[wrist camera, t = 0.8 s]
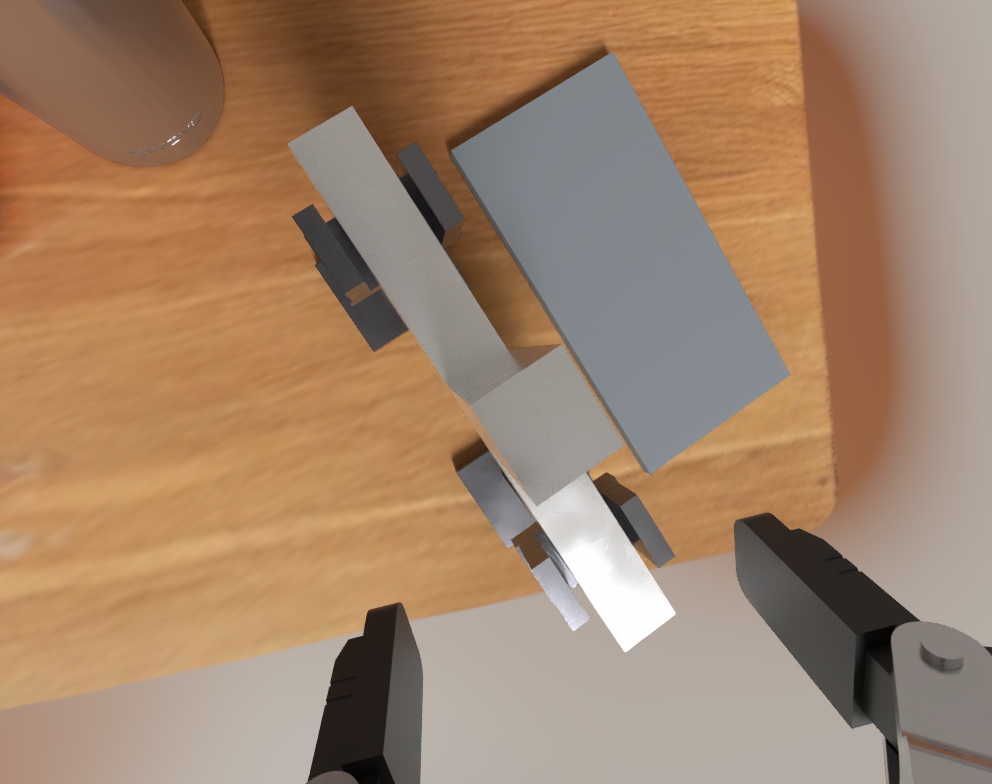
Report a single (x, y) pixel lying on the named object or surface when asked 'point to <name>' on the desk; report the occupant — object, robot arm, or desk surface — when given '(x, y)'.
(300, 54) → the desk surface
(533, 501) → the rail
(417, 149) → the hook stand
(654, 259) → the mat
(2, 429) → the desk surface
